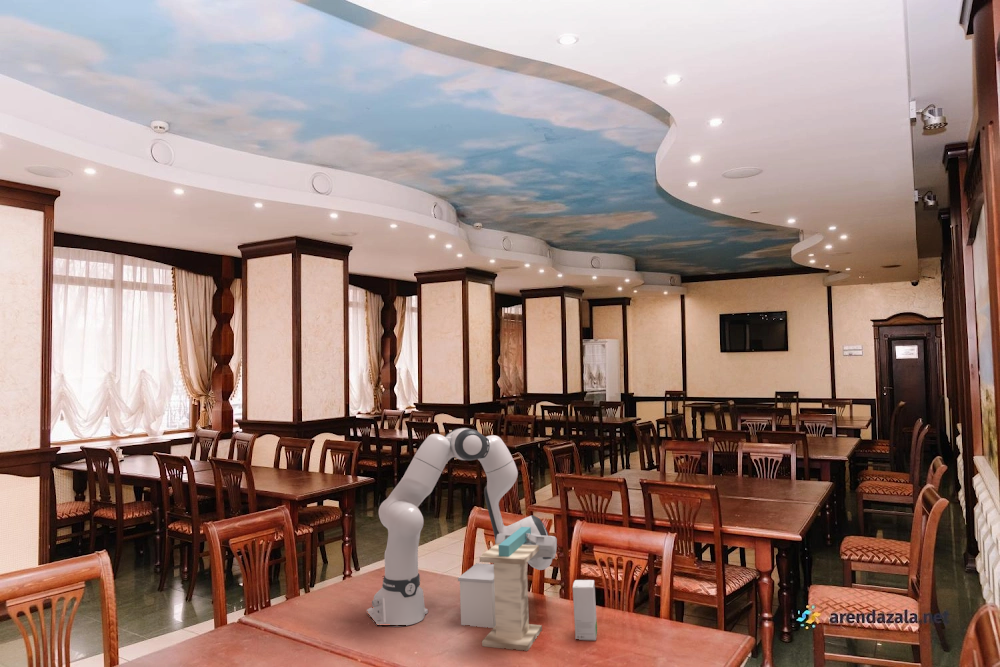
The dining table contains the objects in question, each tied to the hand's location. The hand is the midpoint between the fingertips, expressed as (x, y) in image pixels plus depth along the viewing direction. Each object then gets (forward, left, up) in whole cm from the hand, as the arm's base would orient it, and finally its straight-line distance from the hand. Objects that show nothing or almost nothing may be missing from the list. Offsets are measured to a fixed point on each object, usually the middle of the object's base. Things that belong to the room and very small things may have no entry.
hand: (520, 535), depth 214 cm
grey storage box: (-13, -6, -28) cm, 31 cm away
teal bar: (+3, -4, -2) cm, 6 cm away
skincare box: (+19, +9, -28) cm, 35 cm away
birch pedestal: (+6, -9, -28) cm, 30 cm away
